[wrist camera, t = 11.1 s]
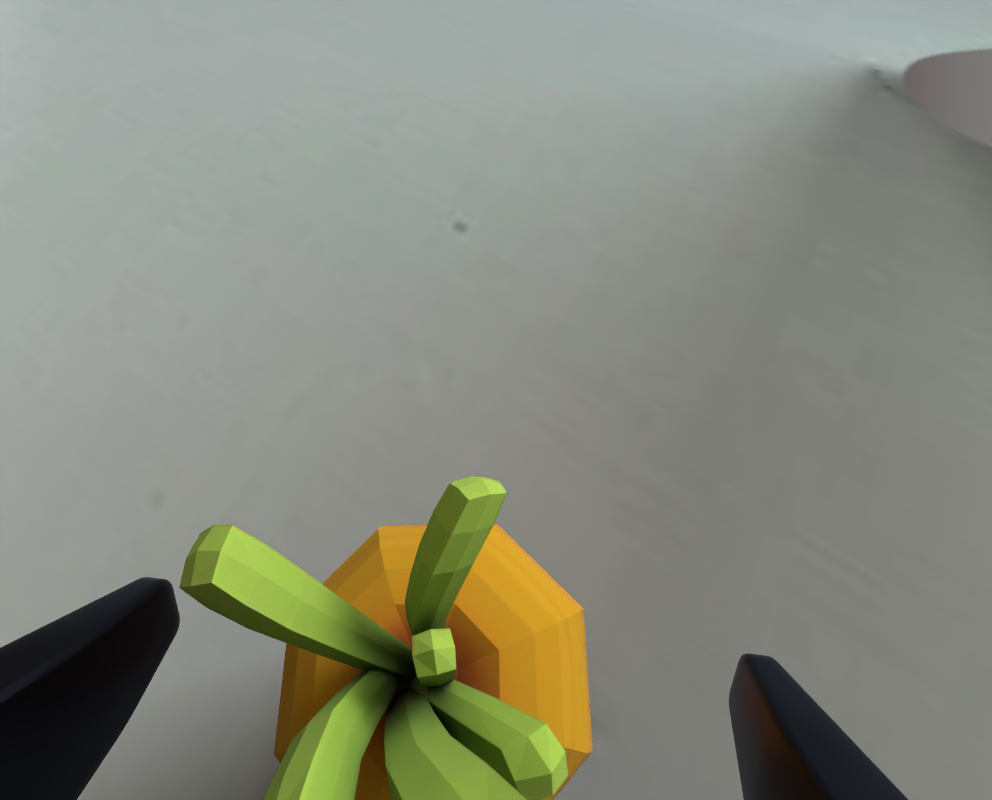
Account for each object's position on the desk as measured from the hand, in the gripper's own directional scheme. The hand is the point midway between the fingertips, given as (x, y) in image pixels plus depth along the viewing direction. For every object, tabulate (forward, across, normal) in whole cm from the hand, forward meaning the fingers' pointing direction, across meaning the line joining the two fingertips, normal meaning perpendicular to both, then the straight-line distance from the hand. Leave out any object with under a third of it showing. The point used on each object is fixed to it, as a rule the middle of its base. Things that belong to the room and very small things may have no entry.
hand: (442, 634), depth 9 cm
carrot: (+7, 0, +8) cm, 10 cm away
